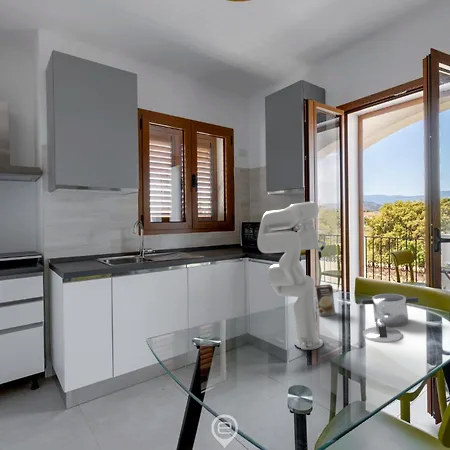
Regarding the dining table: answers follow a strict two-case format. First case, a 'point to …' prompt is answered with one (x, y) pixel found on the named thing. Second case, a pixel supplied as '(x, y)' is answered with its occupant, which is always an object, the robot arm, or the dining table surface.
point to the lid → (382, 333)
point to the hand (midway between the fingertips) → (310, 260)
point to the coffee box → (324, 300)
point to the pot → (391, 308)
